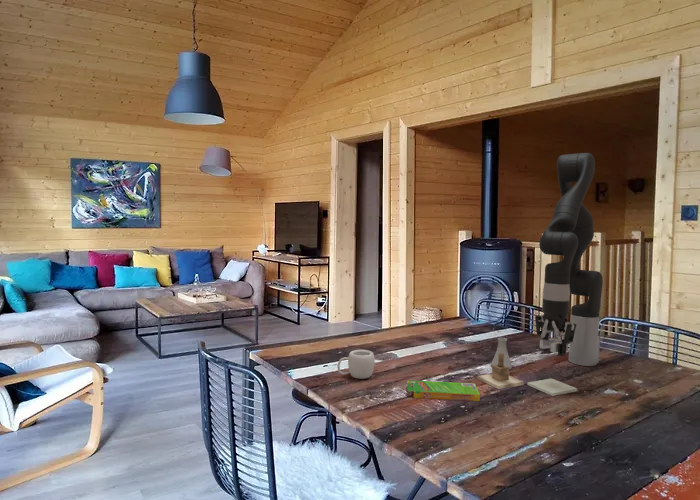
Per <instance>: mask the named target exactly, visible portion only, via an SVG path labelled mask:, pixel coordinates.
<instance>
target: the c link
mask: <svg viewBox="0 0 700 500" xmlns="http://www.w3.org/2000/svg"><path fill="white" fill-rule="evenodd" d="M558 343H559V341H558V338H555V337H554V338H553V337H551V338H550V337H549V339H542V338H541V339H539V349H545V348H549V350H550V352H551V353H558V346H559V344H558ZM567 351H568V352H569V343H567V346H566V352H567Z"/></svg>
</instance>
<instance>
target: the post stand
mask: <svg viewBox="0 0 700 500" xmlns="http://www.w3.org/2000/svg"><path fill="white" fill-rule="evenodd" d="M503 364H504V354H503V353H499V356H498V365H492V366H491V373H487V374H482V375H481V374H480V375H477V376H476V379H477V380H478V381H480V382H482V383H485V384H487V385H489V386H491V387H493V388H495V389H496V390H497V389H498V390H502V389H508V388H509V389H510V388H513V387H519V386H525V385H524V384H525V381H523V380H521V379H518V378H516V377H514V376H512V375H510V369H509V367H507V366H505V365H503Z"/></svg>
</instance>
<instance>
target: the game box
mask: <svg viewBox="0 0 700 500" xmlns="http://www.w3.org/2000/svg"><path fill="white" fill-rule="evenodd" d="M406 385H407V388H406V389H407V390H406V391H407V392H413V399H432V400H433V399H434V400H451V401H453V400H454V401H470V402H480V400H481V399H480V398H481V394H480V392H479V390H478V388H477V385H476V383H473V382H471V383H469V382H454V381H453V382H452V381H451V382H450V381H434V380H433V381H431V380H416V379H415V380H414V379H413V380H407V382H406ZM411 385H412V386H411Z"/></svg>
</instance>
